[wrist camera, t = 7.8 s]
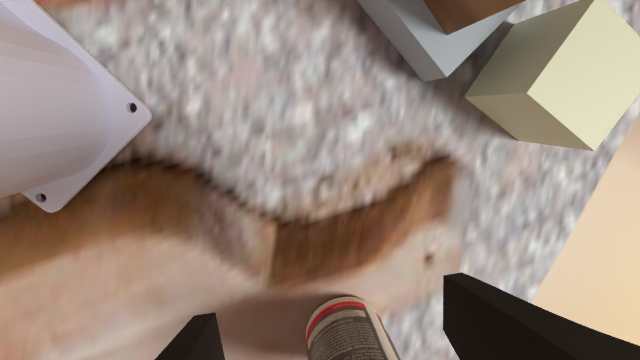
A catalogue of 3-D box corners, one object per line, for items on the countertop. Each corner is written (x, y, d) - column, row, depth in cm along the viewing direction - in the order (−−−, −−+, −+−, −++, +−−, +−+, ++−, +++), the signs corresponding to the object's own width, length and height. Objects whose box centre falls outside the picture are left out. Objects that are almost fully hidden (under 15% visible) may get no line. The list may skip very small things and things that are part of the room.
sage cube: (462, 97, 19) (526, 93, 14) (513, 24, 18) (598, -7, 13) (517, 140, 20) (594, 151, 15) (566, 74, 19) (663, 62, 14)
